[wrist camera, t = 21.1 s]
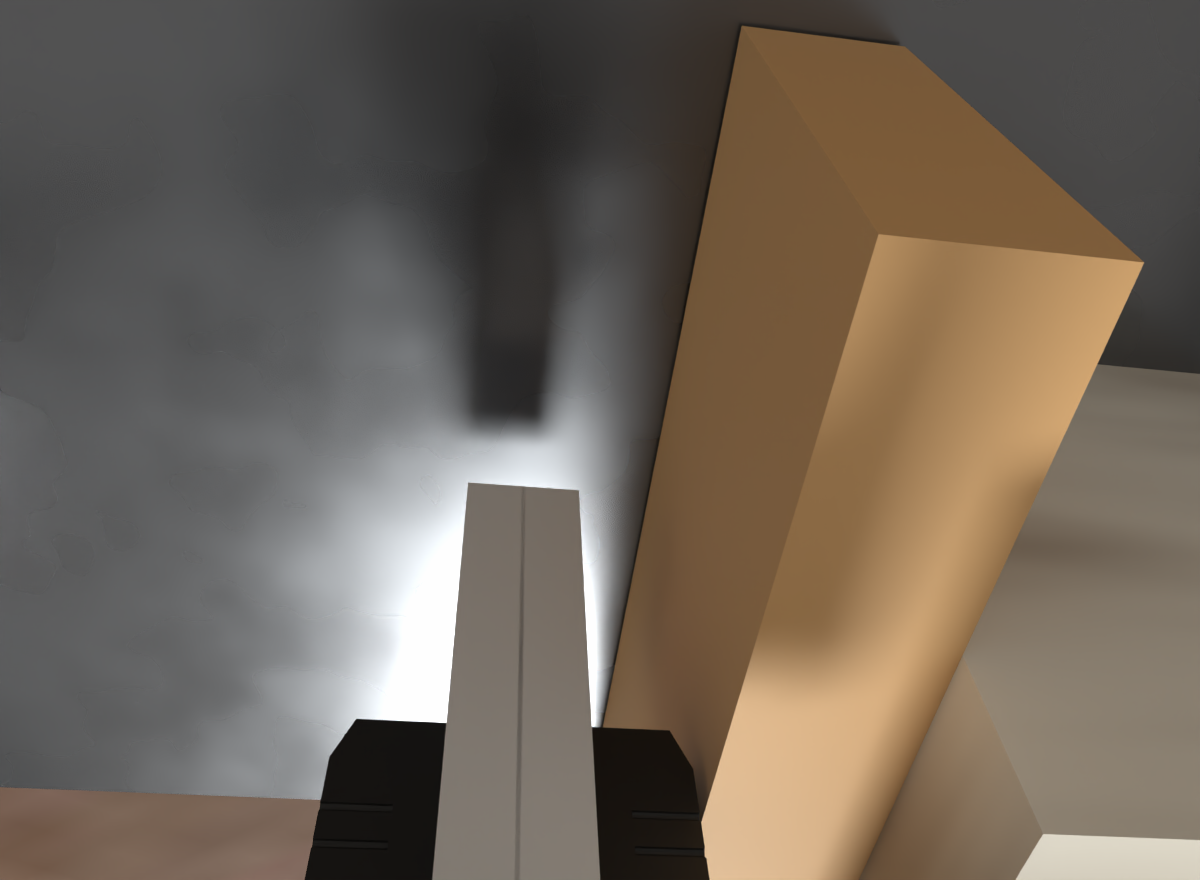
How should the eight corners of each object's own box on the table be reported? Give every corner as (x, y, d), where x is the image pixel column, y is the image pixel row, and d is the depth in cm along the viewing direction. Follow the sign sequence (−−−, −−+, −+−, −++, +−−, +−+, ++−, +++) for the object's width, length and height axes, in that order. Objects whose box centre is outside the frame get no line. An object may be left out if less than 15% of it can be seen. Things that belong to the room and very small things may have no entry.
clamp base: (1194, 776, 24) (1426, 1152, 17) (28, 723, 21) (-188, 1149, 15) (1709, 47, 15) (2566, 289, 8) (-224, -224, 12) (-1066, -159, 6)
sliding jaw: (693, 786, 20) (743, 1129, 15) (592, 782, 20) (609, 1128, 15) (904, 46, 12) (1145, 261, 8) (741, 25, 12) (878, 234, 7)
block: (1057, 658, 19) (1335, 1161, 12) (734, 638, 18) (844, 1160, 12) (1210, 374, 15) (1704, 860, 9) (819, 338, 15) (1043, 835, 8)
